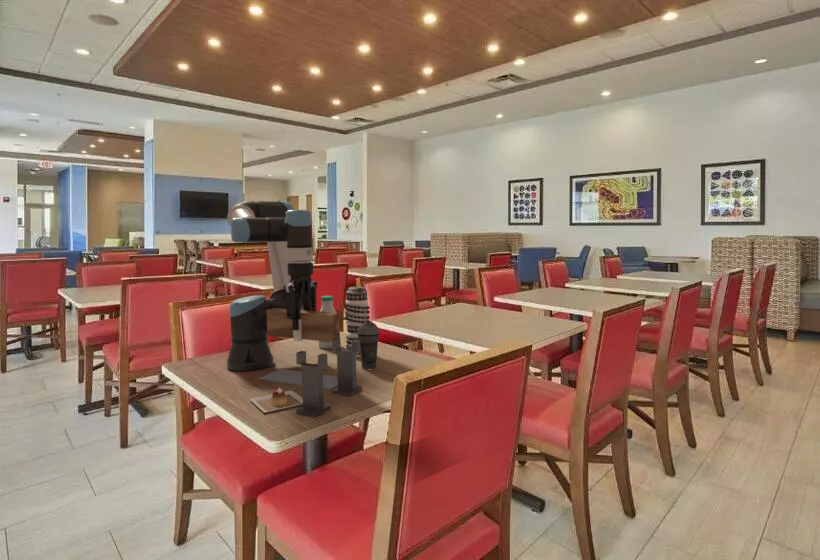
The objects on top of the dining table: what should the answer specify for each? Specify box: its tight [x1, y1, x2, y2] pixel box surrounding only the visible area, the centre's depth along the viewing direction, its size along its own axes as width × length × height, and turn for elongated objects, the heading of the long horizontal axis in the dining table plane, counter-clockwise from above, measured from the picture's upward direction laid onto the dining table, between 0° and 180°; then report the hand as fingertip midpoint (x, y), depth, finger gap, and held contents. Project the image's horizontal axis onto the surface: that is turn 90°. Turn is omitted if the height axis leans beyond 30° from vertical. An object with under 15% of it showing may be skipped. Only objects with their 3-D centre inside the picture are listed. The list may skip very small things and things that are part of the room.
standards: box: [295, 337, 363, 418], centre depth 129 cm, size 8×22×15 cm, turn 155°
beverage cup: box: [357, 308, 380, 370], centre depth 159 cm, size 7×7×20 cm
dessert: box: [249, 387, 303, 414], centre depth 129 cm, size 12×12×5 cm
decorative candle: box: [344, 285, 371, 357], centre depth 176 cm, size 9×9×25 cm
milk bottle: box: [317, 295, 337, 350], centre depth 188 cm, size 8×8×20 cm
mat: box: [259, 368, 338, 391], centre depth 148 cm, size 26×10×1 cm, turn 65°
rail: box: [266, 308, 341, 342], centre depth 146 cm, size 4×24×8 cm, turn 65°
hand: (302, 338), depth 147 cm, fingers closed on rail, 4 cm apart
